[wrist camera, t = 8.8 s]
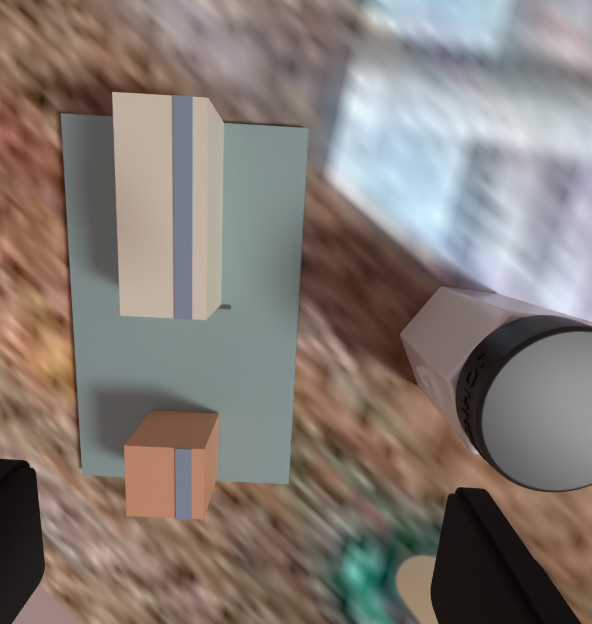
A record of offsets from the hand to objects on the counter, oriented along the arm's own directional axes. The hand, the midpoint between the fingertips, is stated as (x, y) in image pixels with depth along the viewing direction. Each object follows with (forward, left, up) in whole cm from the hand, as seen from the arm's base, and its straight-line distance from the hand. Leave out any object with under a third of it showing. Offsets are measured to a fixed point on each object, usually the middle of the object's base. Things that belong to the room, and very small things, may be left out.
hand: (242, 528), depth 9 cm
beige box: (-7, -7, -20) cm, 22 cm away
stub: (+9, -7, -20) cm, 23 cm away
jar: (+1, +13, -21) cm, 25 cm away
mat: (0, -7, -21) cm, 22 cm away
